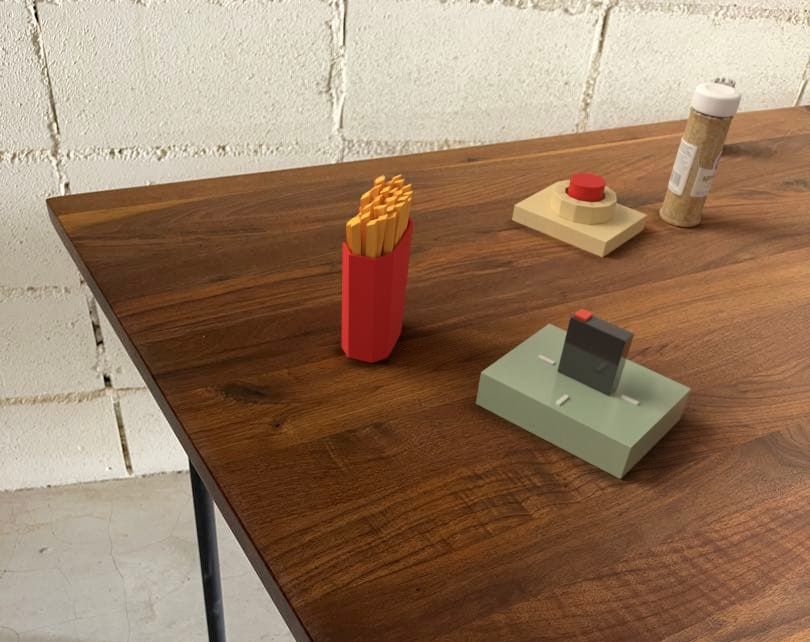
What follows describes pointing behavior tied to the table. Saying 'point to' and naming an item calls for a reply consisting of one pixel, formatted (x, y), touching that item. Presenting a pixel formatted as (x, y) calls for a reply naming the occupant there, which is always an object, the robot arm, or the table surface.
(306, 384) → the table surface
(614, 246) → the switch block
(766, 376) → the table surface
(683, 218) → the spice jar
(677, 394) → the green flat block
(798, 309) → the table surface
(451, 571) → the table surface
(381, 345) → the french fries
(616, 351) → the red-topped dark block
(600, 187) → the power button
